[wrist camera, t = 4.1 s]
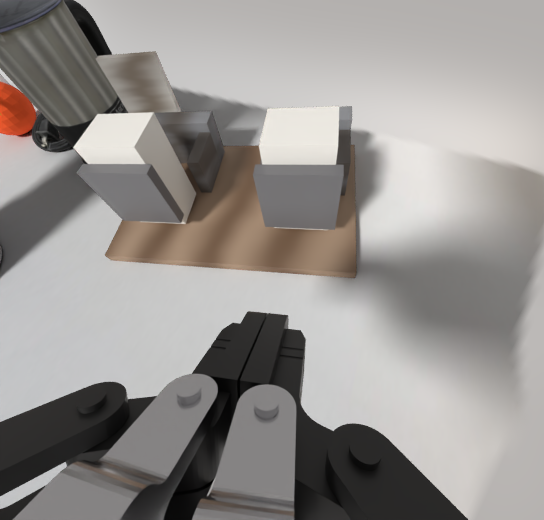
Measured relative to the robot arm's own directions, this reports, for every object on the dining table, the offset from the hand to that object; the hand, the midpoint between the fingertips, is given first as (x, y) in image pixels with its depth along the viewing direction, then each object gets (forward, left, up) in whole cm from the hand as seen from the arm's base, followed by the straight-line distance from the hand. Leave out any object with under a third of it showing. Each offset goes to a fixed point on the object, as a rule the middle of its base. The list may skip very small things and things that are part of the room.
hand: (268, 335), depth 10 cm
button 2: (-14, +14, -10) cm, 22 cm away
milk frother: (-30, +26, -12) cm, 42 cm away
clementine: (-44, +29, -12) cm, 54 cm away
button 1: (0, +14, -10) cm, 17 cm away
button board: (-7, +16, -11) cm, 21 cm away
